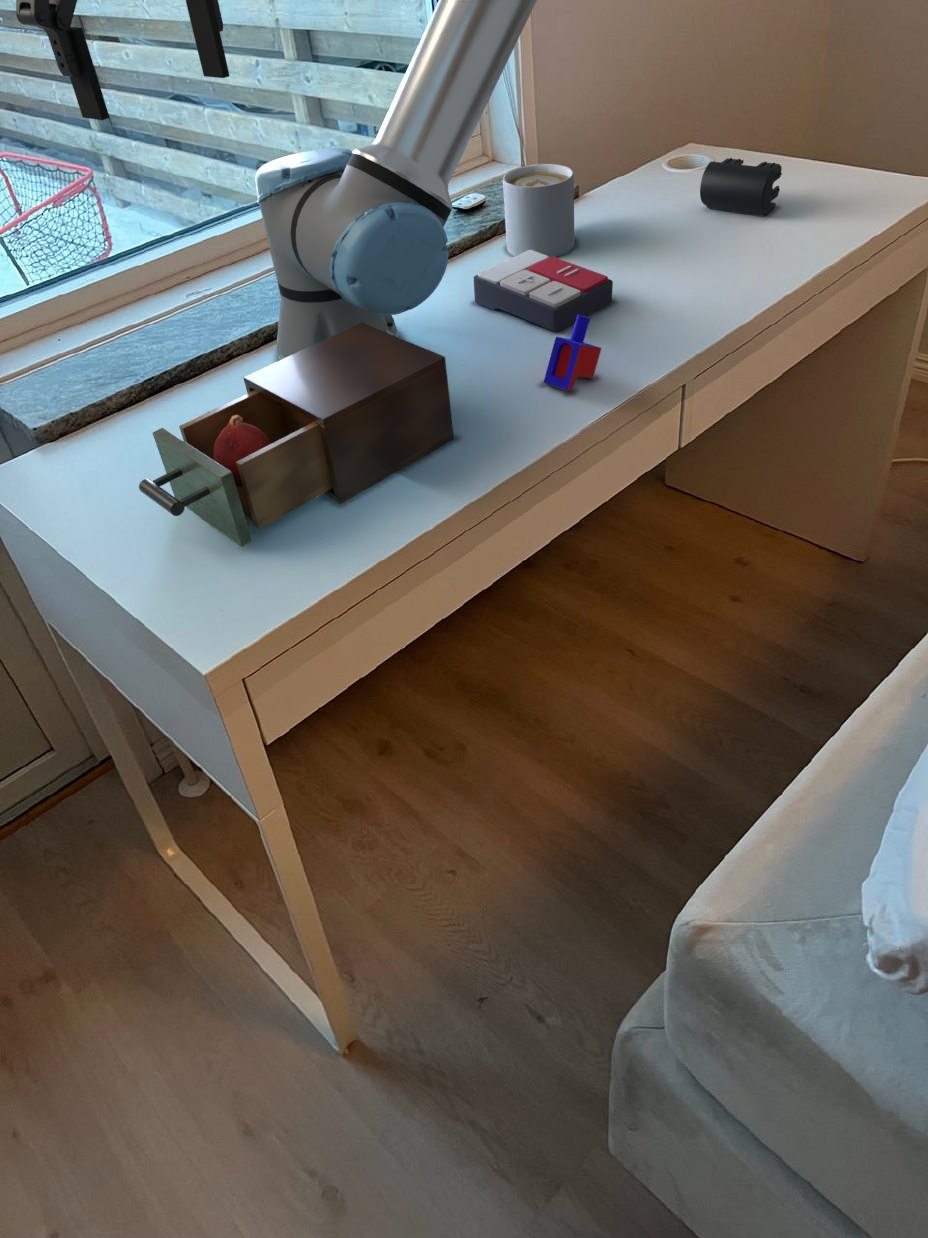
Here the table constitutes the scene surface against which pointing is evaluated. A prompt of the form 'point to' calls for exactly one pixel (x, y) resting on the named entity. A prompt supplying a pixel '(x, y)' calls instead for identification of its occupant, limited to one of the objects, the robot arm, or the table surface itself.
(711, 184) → the end cap
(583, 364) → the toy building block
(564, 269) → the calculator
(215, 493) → the drawer
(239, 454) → the onion
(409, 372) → the cabinet
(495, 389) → the table surface
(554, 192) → the coffee mug
